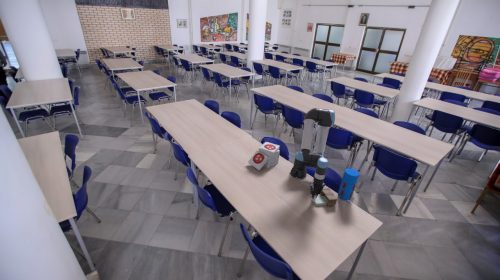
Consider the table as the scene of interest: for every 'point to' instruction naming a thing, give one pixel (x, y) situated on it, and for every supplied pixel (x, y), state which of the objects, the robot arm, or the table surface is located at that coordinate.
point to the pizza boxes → (265, 156)
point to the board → (321, 200)
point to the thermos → (348, 184)
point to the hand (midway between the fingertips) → (313, 200)
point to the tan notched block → (329, 196)
